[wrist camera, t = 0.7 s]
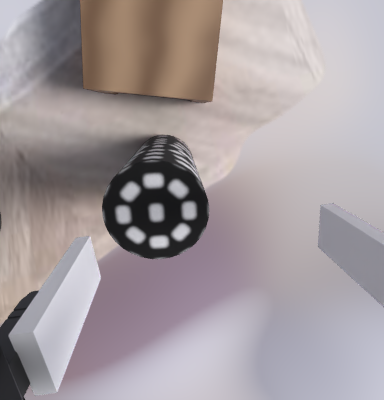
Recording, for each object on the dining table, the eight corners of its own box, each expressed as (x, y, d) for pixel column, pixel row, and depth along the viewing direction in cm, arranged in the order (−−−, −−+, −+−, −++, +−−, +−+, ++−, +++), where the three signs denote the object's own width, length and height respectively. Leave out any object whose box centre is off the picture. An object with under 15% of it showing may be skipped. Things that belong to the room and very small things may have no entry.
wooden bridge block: (102, 92, 36) (83, 88, 29) (100, -34, 32) (77, -78, 24) (204, 102, 37) (212, 101, 30) (216, -18, 33) (228, -56, 25)
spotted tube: (134, 136, 38) (93, 163, 19) (191, 133, 39) (207, 156, 20) (140, 191, 41) (110, 262, 22) (194, 188, 41) (210, 255, 22)
